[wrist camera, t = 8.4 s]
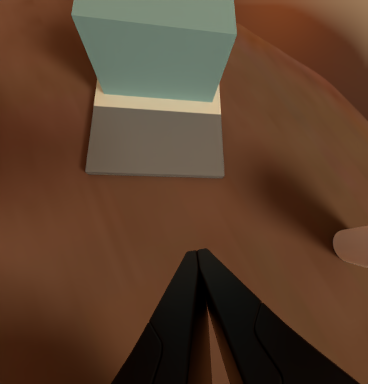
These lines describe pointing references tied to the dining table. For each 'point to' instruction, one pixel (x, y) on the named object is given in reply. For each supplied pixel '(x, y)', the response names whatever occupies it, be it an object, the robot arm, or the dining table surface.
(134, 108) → the mat
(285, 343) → the robot arm
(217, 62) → the t block
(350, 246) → the smoothie
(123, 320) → the dining table surface
